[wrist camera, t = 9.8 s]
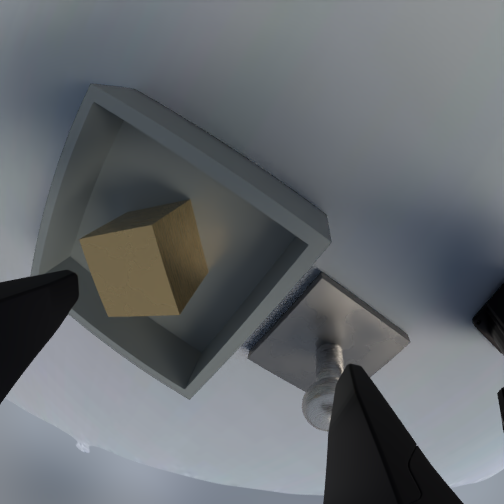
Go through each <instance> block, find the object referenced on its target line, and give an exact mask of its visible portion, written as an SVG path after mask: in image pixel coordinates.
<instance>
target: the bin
mask: <svg viewBox="0 0 504 504" xmlns="http://www.w3.org/2000/svg"><path fill="white" fill-rule="evenodd" d="M190 199H191V203H192V207H193V211H194V216H195V220H196V224H197V228H198V232H199V236H200V240H201V244H202V248H203V251H204V255H205V259H206V263H207V267H208V271H209V272H208V274H207V275H206V277H205V278H204V279H203V281H202V282H201V284H200V285H199V287H198V288H197V290H196V291H195V293H194V294H193V296H192V297H191V299H190V300H189V302H188V303H187V305H186V306H185V308H184V309H183V311H182V312H181V314H180V315H168V316H131V317H108V315H107V313H106V310H105V308H104V306H103V303H102V301H101V298H100V296H99V293H98V291H97V288H96V286H95V283H94V280H93V278H92V275H91V272H90V270H89V267H88V264H87V261H86V258H85V255H84V252H83V250H82V247H81V244H80V240H79V239H80V238H82V237H84V236H85V235H87V234H89V233H91V232H92V231H94V230H96V229H98V228H99V227H101V226H103V225H105V224H106V223H108V222H110V221H112V220H114V219H115V218H117V217H119V216H121V215H123V214H125V213H127V212H131V211H136V210H140V209H145V208H150V207H155V206H159V205H164V204H169V203H174V202H179V201H184V200H190ZM330 244H331V236H330V231H329V225H328V220H327V215H326V214H324V213H323V212H322V211H320V210H319V209H318V208H316V207H315V206H314V205H312V204H311V203H310V202H308V201H307V200H306V199H304V198H303V197H301V196H300V195H299V194H297V193H296V192H294V191H293V190H292V189H290V188H289V187H287V186H286V185H285V184H283V183H282V182H280V181H279V180H278V179H276V178H275V177H273V176H272V175H270V174H269V173H268V172H266V171H265V170H263V169H262V168H260V167H259V166H257V165H256V164H254V163H253V162H251V161H250V160H248V159H247V158H245V157H244V156H242V155H241V154H239V153H238V152H236V151H235V150H233V149H232V148H230V147H229V146H227V145H226V144H224V143H223V142H221V141H220V140H218V139H217V138H215V137H213V136H212V135H210V134H209V133H207V132H206V131H204V130H202V129H201V128H199V127H198V126H196V125H194V124H193V123H191V122H190V121H188V120H186V119H185V118H183V117H181V116H180V115H178V114H176V113H175V112H173V111H171V110H170V109H168V108H166V107H165V106H163V105H161V104H160V103H158V102H156V101H154V100H153V99H151V98H149V97H148V96H146V95H144V94H142V93H141V92H139V91H137V90H135V89H131V88H124V87H116V86H108V85H99V84H90V86H89V88H88V90H87V93H86V95H85V97H84V99H83V101H82V103H81V106H80V108H79V110H78V113H77V115H76V117H75V120H74V122H73V125H72V127H71V130H70V132H69V135H68V137H67V140H66V143H65V145H64V148H63V151H62V154H61V156H60V159H59V162H58V165H57V168H56V171H55V174H54V178H53V181H52V184H51V187H50V191H49V194H48V198H47V202H46V205H45V209H44V213H43V217H42V221H41V225H40V229H39V234H38V238H37V243H36V248H35V253H34V258H33V264H32V270H31V276H36V275H41V274H46V273H51V272H56V271H62V270H70V271H72V272H75V273H76V274H77V275H78V283H79V298H78V300H77V302H76V303H75V305H74V306H73V307H72V309H71V310H70V312H69V313H68V314H69V315H70V316H71V317H73V318H74V319H75V320H76V321H77V322H79V323H80V324H81V325H82V326H84V327H85V328H86V329H87V330H89V331H90V332H91V333H92V334H94V335H95V336H96V337H97V338H99V339H100V340H101V341H103V342H104V343H105V344H107V345H108V346H109V347H111V348H112V349H113V350H115V351H116V352H117V353H119V354H120V355H122V356H123V357H124V358H126V359H127V360H129V361H130V362H132V363H133V364H134V365H136V366H137V367H139V368H140V369H142V370H143V371H145V372H146V373H148V374H149V375H151V376H152V377H154V378H155V379H157V380H158V381H160V382H161V383H163V384H165V385H166V386H168V387H169V388H171V389H173V390H174V391H176V392H177V393H179V394H181V395H182V396H184V397H186V398H187V399H189V400H190V399H191V398H192V397H193V396H194V395H195V394H196V393H197V392H198V391H199V390H200V388H201V387H202V386H203V385H204V384H205V383H206V382H207V381H208V380H209V379H210V378H211V377H212V376H213V375H214V374H215V373H216V372H217V371H218V370H219V369H220V368H221V367H222V366H223V364H224V363H225V362H226V361H227V360H228V359H229V358H230V357H231V356H232V355H233V354H234V353H235V352H236V351H237V350H238V348H239V347H240V346H241V345H242V344H243V343H244V342H245V341H246V340H247V339H248V338H249V337H250V335H251V334H252V333H253V332H254V331H255V330H256V329H257V328H258V327H259V326H260V324H261V323H262V322H263V321H264V320H265V319H266V318H267V317H268V316H269V314H270V313H271V312H272V311H273V310H274V309H275V308H276V307H277V305H278V304H279V303H280V302H281V301H282V300H283V299H284V298H285V296H286V295H287V294H288V293H289V292H290V291H291V289H292V288H293V287H294V286H295V285H296V284H297V283H298V281H299V280H300V279H301V278H302V277H303V276H304V274H305V273H306V272H307V271H308V270H309V269H310V267H311V266H312V265H313V264H314V263H315V261H316V260H317V259H318V258H319V257H320V256H321V254H322V253H323V252H324V251H325V250H326V248H327V247H328V246H329V245H330ZM31 276H30V277H31Z"/></svg>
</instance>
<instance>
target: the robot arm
mask: <svg viewBox="0 0 504 504" xmlns="http://www.w3.org/2000/svg"><path fill="white" fill-rule="evenodd" d="M78 298H79V283H78V275H77V274H76V273H75V272H72V271H70V270H62V271H56V272H51V273H46V274H41V275H36V276H31V277H26V278H21V279H15V280H10V281H5V282H0V404H1V402H2V401H3V399H4V398H5V397H6V395H7V394H8V393H9V391H10V390H11V388H12V387H13V386H14V384H15V383H16V382H17V380H18V379H19V378H20V376H21V375H22V374H23V372H24V371H25V370H26V368H27V367H28V366H29V365H30V363H31V362H32V361H33V359H34V358H35V357H36V356H37V354H38V353H39V352H40V351H41V349H42V348H43V347H44V346H45V344H46V343H47V342H48V341H49V340H50V338H51V337H52V336H53V335H54V333H55V332H56V331H57V329H58V328H59V327H60V325H61V324H62V322H63V321H64V319H65V318H66V316H67V315H68V313H69V312H70V310H71V309H72V307H73V306H74V305H75V303H76V302H77V300H78ZM479 319H480V320H479ZM478 320H479V321H478ZM477 321H478V322H477ZM472 322H473V324H474V326H475V327H476V328H477V329H478V330H479V331H480V332H481V333H482V334H483V335H484V336H485V337H486V338H487V339H488V340H489V341H490V342H491V343H492V344H493V345H494V346H495V347H496V348H497V350H498V351H499V352H500V353H502V354H503V355H504V284H503V285H502V286H501V287H500V289H499V290H498V291H497V292H496V293H495V294H494V296H493V297H492V298H491V299H490V300H489V301H488V302H487V304H486V305H485V306H484V307H483V308H482V309H481V310H480V311H479V312H478V313H477V314H476V316H475V317H474V318H473V320H472ZM497 394H498V400H499V406H500V412H501V418H502V425H503V431H504V387H503V388H501V390H500V391H499V392H498V393H497ZM323 504H463V503H462V501H461V500H460V499H459V498H458V497H457V495H456V494H455V493H454V492H453V491H452V489H451V488H450V487H449V486H448V485H447V484H446V482H445V481H444V480H443V479H442V478H441V476H440V475H439V474H438V473H437V471H436V470H435V469H434V468H433V466H432V465H431V464H430V462H429V461H428V459H427V458H426V457H425V455H424V454H423V453H422V451H421V450H420V448H419V447H418V446H416V443H415V441H414V440H413V438H412V437H411V435H410V434H409V432H408V431H407V430H406V428H405V427H404V425H403V424H402V422H401V421H400V420H399V418H398V417H397V415H396V414H395V412H394V411H393V410H392V408H391V407H390V405H389V404H388V402H387V401H386V400H385V398H384V397H383V395H382V394H381V393H380V391H379V390H378V388H377V387H376V386H375V384H374V383H373V381H372V380H371V379H370V377H369V376H368V374H367V373H366V372H365V370H364V369H363V367H362V366H360V365H356V364H352V363H350V364H348V365H347V366H346V367H345V369H344V371H343V373H342V374H341V376H340V378H339V380H338V381H337V384H336V387H335V393H334V400H333V406H332V412H331V419H330V425H329V433H328V450H327V466H326V479H325V491H324V502H323Z"/></svg>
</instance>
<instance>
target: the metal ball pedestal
mask: <svg viewBox="0 0 504 504" xmlns="http://www.w3.org/2000/svg"><path fill="white" fill-rule="evenodd" d="M409 343H410V340H409V337H408V335H407V334H406V333H405V332H403V331H402V330H401V329H399V328H398V327H397V326H395V325H394V324H393V323H391V322H390V321H389V320H387V319H386V318H385V317H383V316H382V315H381V314H379V313H378V312H376V311H375V310H374V309H372V308H371V307H370V306H368V305H367V304H366V303H364V302H363V301H362V300H360V299H359V298H357V297H356V296H355V295H353V294H352V293H351V292H349V291H348V290H346V289H345V288H344V287H342V286H341V285H340V284H338V283H337V282H335V281H334V280H333V279H331V278H330V277H328V276H327V275H326V274H324V273H323V272H321V273H320V274H319V275H318V276H317V278H316V279H315V280H314V281H313V282H312V283H311V284H310V286H309V287H308V288H307V289H306V290H305V291H304V292H303V293H302V295H301V296H300V297H299V298H298V299H297V300H296V301H295V302H294V303H293V305H292V306H291V307H290V308H289V309H288V310H287V311H286V312H285V313H284V314H283V316H282V317H281V318H280V319H279V320H278V321H277V322H276V323H275V324H274V325H273V326H272V327H271V328H270V330H269V331H268V332H267V333H266V334H265V335H264V336H263V337H262V338H261V339H260V340H259V341H258V342H257V343H256V344H255V345H254V346H253V347H252V348H251V350H250V351H249V354H248V359H249V360H251V361H253V362H254V363H256V364H258V365H259V366H261V367H263V368H265V369H266V370H268V371H270V372H271V373H273V374H275V375H277V376H278V377H280V378H282V379H284V380H285V381H287V382H289V383H291V384H292V385H294V386H296V387H298V388H300V389H302V390H303V391H305V392H306V393H305V394H304V397H303V401H302V410H303V414H304V417H305V418H306V420H307V421H308V423H309V424H311V425H312V426H313V427H315V428H317V429H319V430H322V431H329V425H330V419H331V412H332V406H333V400H334V393H335V387H336V384H337V381H338V380H339V378H340V376H341V374H342V373H343V371H344V369H345V367H346V366H347V365H348V364H350V363H352V364H356V365H360V366H362V367H363V369H364V370H365V372H366V373H367V374H368V376H369V377H371V376H372V375H373V374H375V373H376V372H377V371H378V370H380V369H381V368H382V367H383V366H384V365H385V364H387V363H388V362H389V361H390V360H391V359H392V358H394V357H395V356H396V355H397V354H398V353H399V352H400V351H401V350H403V349H404V348H405V347H406V346H407V345H408V344H409Z"/></svg>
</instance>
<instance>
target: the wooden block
mask: <svg viewBox="0 0 504 504" xmlns="http://www.w3.org/2000/svg"><path fill="white" fill-rule="evenodd" d="M79 240H80V244H81V247H82V250H83V252H84V255H85V258H86V261H87V264H88V267H89V270H90V272H91V275H92V278H93V280H94V283H95V286H96V288H97V291H98V293H99V296H100V298H101V301H102V303H103V306H104V308H105V310H106V313H107V315H108V317H131V316H168V315H180V314H181V312H182V311H183V309H184V308H185V306H186V305H187V303H188V302H189V300H190V299H191V297H192V296H193V294H194V293H195V291H196V290H197V288H198V287H199V285H200V284H201V282H202V281H203V279H204V278H205V277H206V275H207V274H208V272H209V271H208V267H207V263H206V259H205V255H204V251H203V248H202V244H201V240H200V236H199V232H198V228H197V224H196V220H195V216H194V211H193V207H192V203H191V199H190V200H184V201H179V202H174V203H169V204H164V205H159V206H155V207H150V208H145V209H140V210H136V211H131V212H127V213H125V214H123V215H121V216H119V217H117V218H115V219H114V220H112V221H110V222H108V223H106V224H105V225H103V226H101V227H99V228H98V229H96V230H94V231H92V232H91V233H89V234H87V235H85V236H84V237H82V238H80V239H79Z"/></svg>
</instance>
